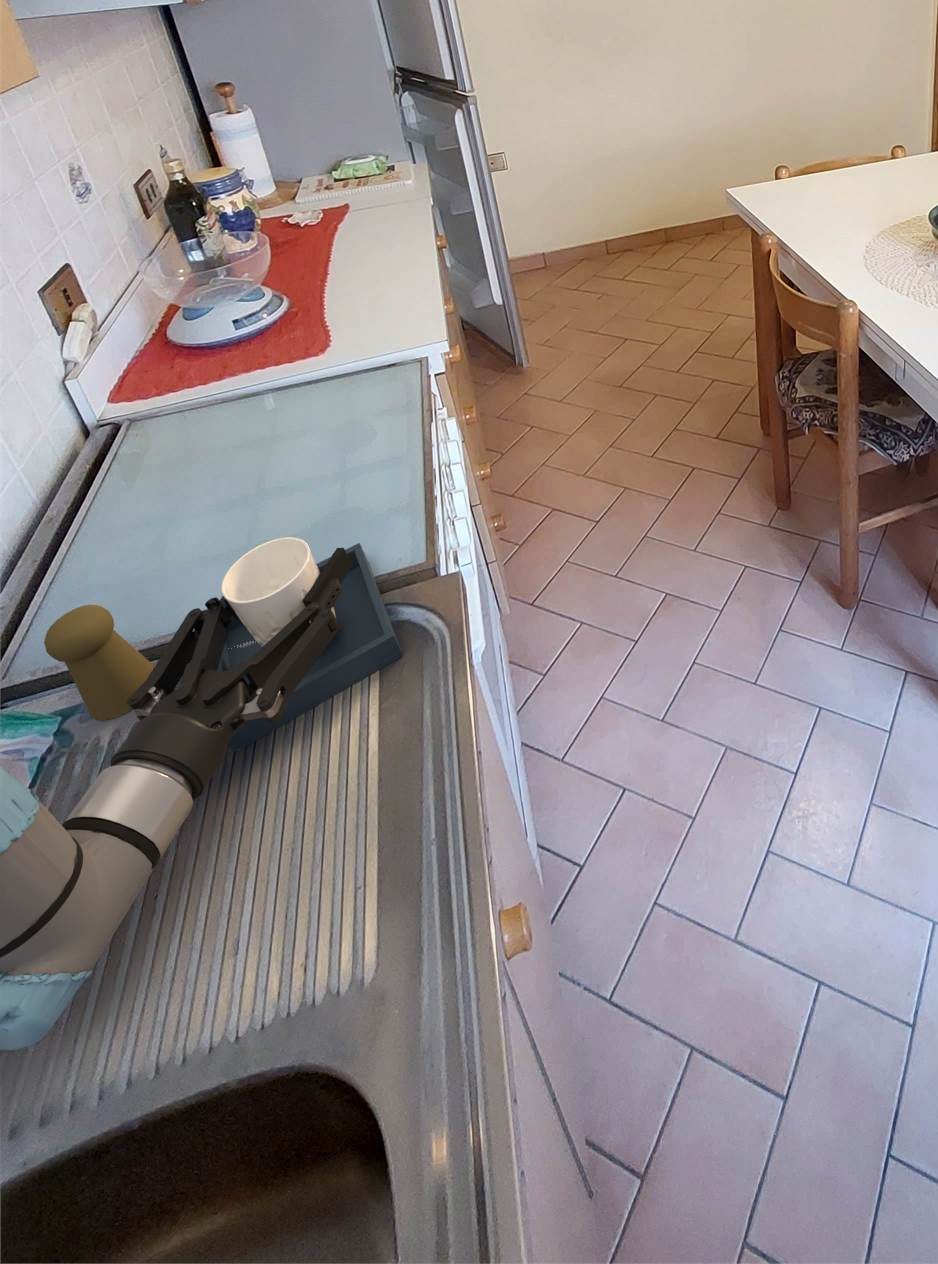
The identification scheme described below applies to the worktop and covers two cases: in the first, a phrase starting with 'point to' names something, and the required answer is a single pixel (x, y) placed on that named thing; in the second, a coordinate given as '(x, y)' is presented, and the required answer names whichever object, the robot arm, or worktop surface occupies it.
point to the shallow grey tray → (327, 648)
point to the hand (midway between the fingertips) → (307, 557)
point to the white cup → (270, 585)
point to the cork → (97, 660)
